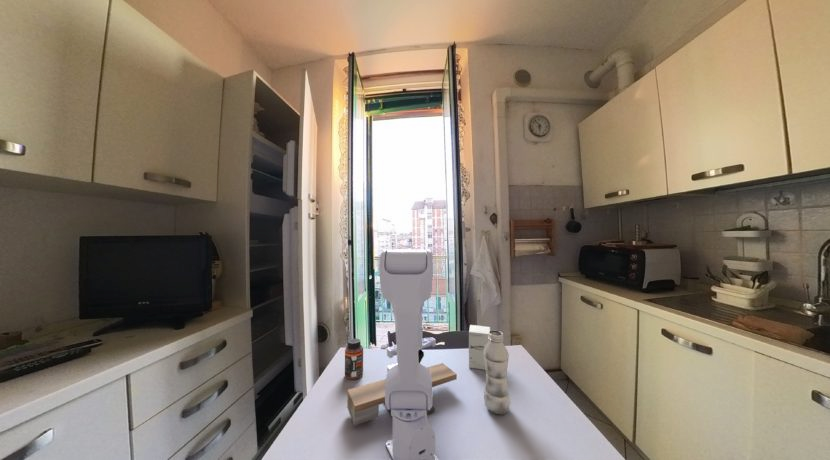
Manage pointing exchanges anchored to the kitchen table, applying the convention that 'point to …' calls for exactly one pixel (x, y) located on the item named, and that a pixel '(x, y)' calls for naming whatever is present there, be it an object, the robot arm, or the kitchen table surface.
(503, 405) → the plastic bottle
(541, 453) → the kitchen table surface
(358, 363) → the supplement bottle
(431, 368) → the balance beam
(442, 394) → the kitchen table surface
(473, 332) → the supplement box
